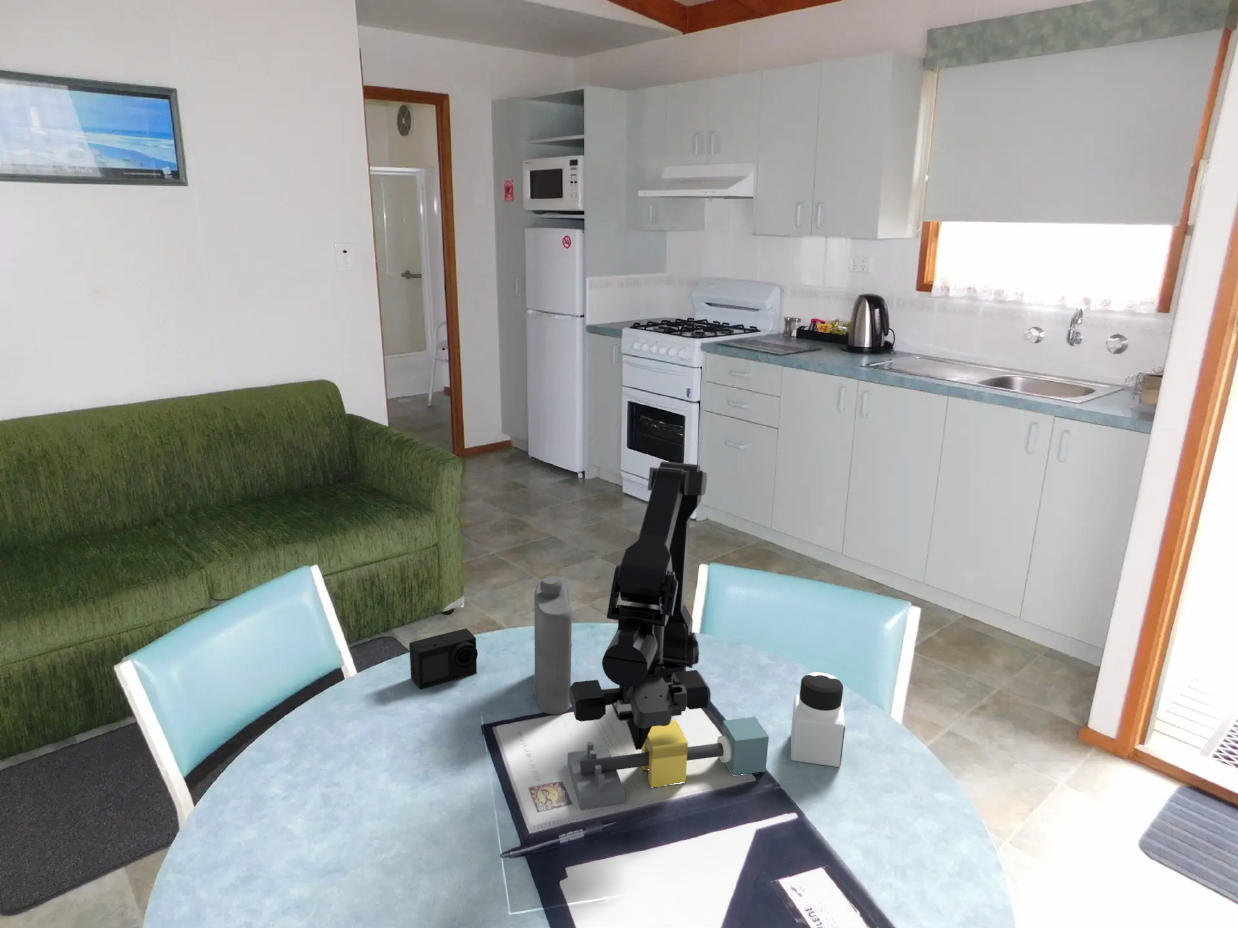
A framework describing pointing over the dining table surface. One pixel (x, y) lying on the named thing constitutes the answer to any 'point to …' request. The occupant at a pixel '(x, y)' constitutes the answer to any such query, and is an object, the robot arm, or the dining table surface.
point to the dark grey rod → (707, 750)
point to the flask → (553, 645)
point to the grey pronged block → (595, 780)
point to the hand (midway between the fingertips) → (637, 747)
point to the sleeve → (666, 755)
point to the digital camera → (443, 658)
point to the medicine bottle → (818, 721)
